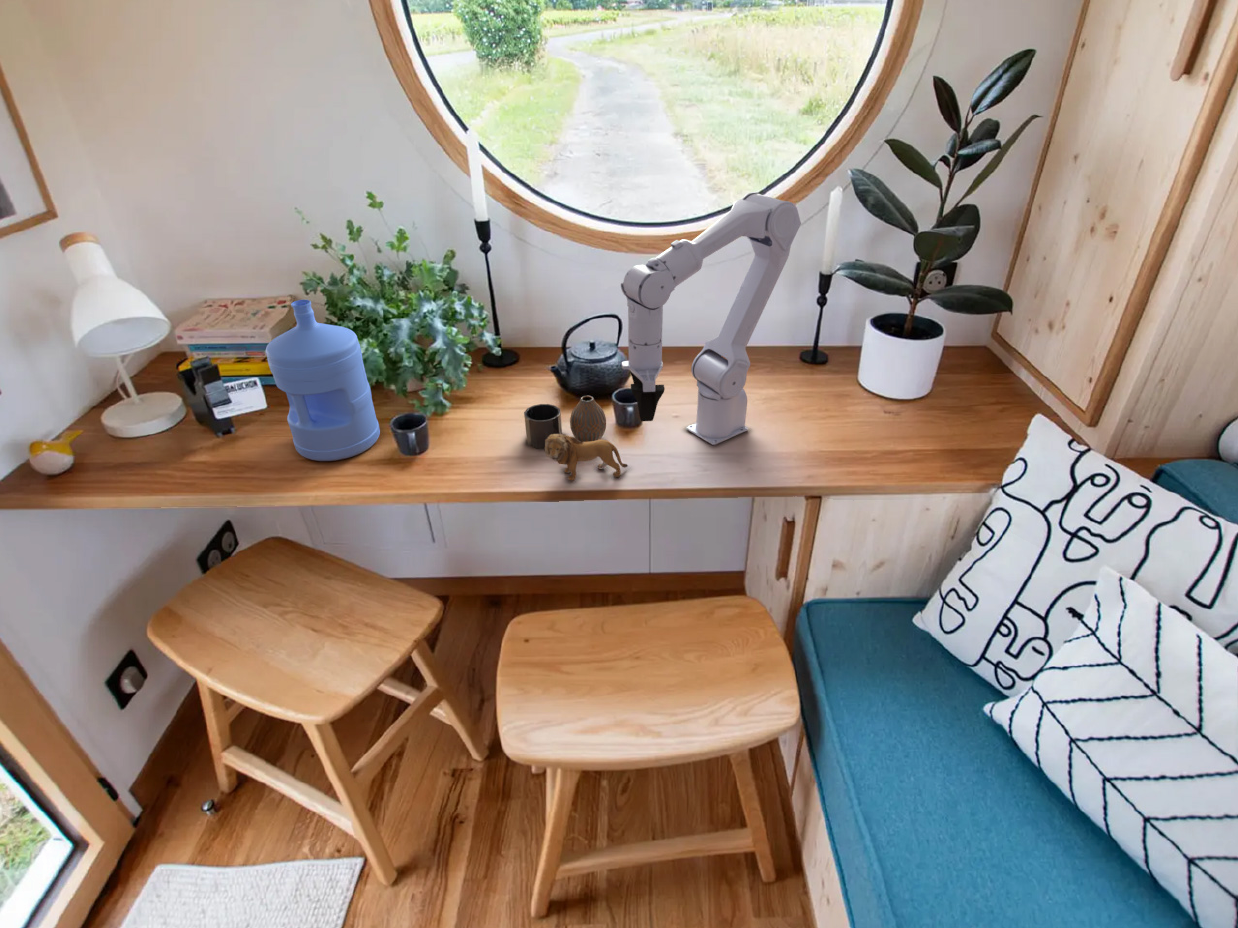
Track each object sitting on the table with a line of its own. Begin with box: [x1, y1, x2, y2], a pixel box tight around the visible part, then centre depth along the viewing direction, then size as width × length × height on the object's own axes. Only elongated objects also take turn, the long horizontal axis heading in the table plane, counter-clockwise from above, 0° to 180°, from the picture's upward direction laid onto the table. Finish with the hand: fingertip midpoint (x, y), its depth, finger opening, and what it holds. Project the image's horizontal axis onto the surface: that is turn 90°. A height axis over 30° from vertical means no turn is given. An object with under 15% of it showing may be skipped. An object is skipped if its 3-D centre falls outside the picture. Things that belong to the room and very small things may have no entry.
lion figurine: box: [544, 433, 629, 482], centre depth 120 cm, size 15×5×9 cm, turn 104°
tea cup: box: [523, 403, 563, 450], centre depth 131 cm, size 7×7×6 cm
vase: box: [569, 395, 607, 442], centre depth 130 cm, size 7×7×9 cm
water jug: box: [265, 299, 381, 462], centre depth 125 cm, size 16×16×28 cm
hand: (644, 409), depth 123 cm, fingers open, 7 cm apart
